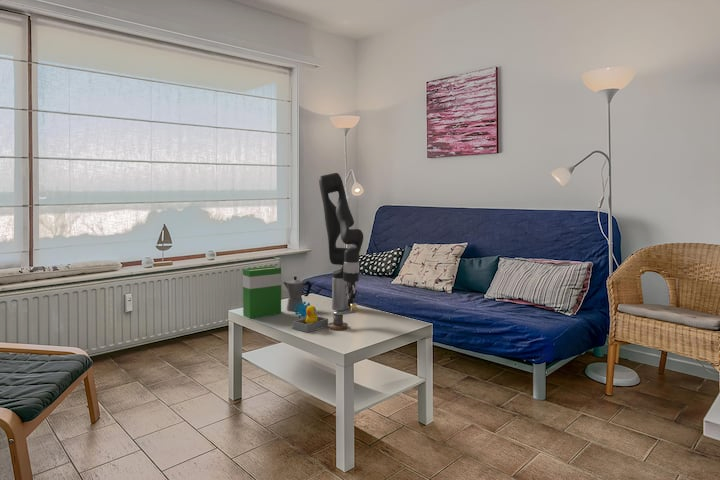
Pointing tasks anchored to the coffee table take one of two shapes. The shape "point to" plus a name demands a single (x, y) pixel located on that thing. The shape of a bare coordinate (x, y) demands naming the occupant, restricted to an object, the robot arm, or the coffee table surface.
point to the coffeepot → (296, 292)
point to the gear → (301, 309)
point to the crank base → (337, 323)
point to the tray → (305, 327)
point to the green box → (261, 291)
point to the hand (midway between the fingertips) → (350, 306)
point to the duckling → (311, 314)
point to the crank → (352, 310)
